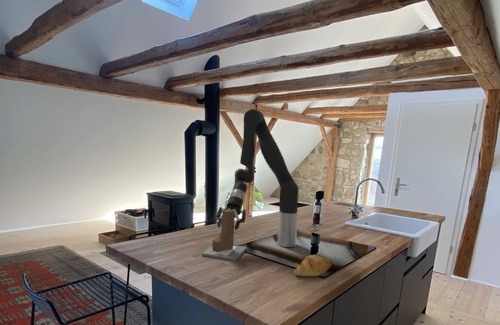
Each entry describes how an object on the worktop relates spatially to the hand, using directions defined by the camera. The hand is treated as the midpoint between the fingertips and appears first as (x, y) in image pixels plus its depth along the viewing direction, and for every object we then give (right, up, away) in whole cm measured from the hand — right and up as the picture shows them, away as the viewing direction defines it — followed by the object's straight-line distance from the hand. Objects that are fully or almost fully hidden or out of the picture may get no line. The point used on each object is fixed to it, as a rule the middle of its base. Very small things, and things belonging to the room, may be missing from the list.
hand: (227, 228), depth 134 cm
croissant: (+36, -14, -18) cm, 43 cm away
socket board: (-1, -11, -1) cm, 11 cm away
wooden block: (-2, -10, 0) cm, 10 cm away
